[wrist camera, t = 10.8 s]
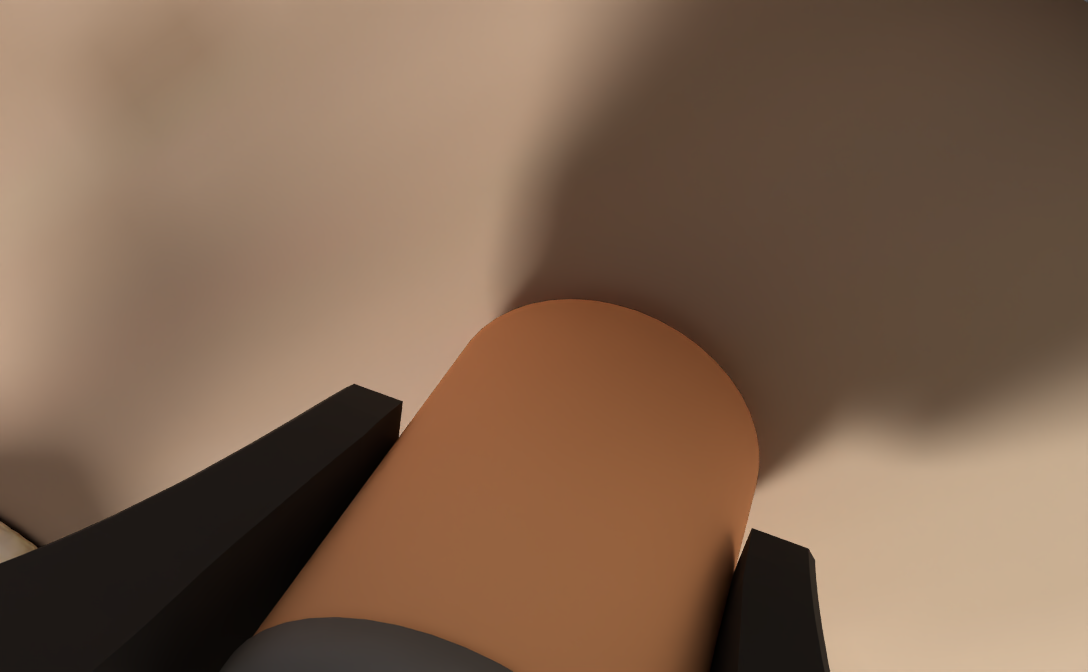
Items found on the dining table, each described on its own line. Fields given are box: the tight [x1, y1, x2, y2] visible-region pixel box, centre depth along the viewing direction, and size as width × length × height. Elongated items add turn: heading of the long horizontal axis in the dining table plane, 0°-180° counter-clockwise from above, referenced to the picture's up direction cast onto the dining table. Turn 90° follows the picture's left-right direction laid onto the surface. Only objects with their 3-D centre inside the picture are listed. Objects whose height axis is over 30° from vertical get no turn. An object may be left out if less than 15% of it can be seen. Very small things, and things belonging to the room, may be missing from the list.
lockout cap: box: [219, 299, 759, 672], centre depth 10 cm, size 4×4×6 cm
